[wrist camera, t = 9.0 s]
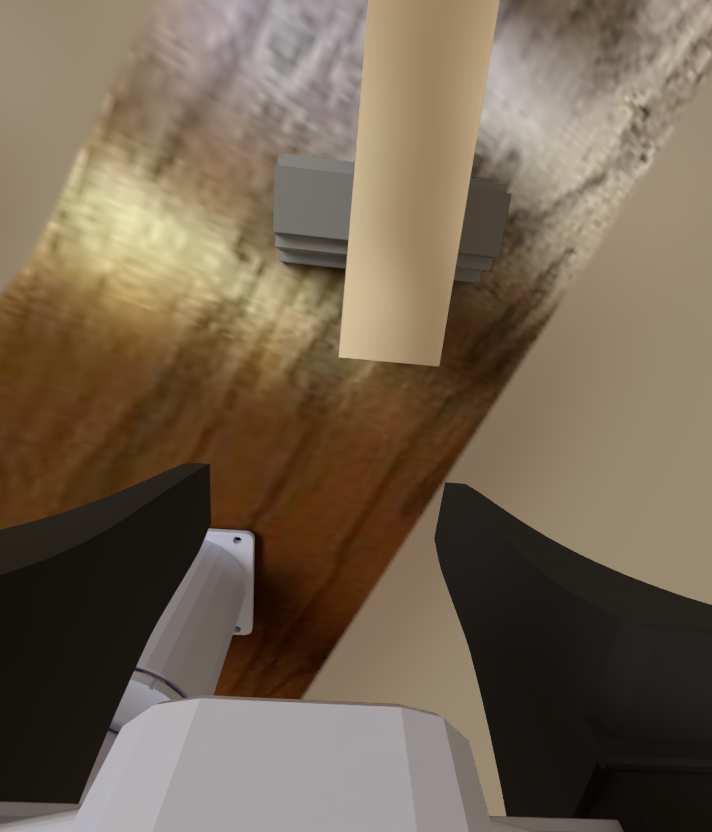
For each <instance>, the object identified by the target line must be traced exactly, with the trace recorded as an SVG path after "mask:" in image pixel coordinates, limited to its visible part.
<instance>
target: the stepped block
mask: <svg viewBox="0 0 712 832" xmlns="http://www.w3.org/2000/svg"><path fill="white" fill-rule="evenodd" d="M354 166H355V162H347V161H339V160H331V159H324V158H316V157H308V156H300V155H292V154H284V153H283V157H278V165H275V181H274V215H273V232H274V233H275V234H276V242H275V246H276V247H277V248H278V249H280V252H279V261H281V262H285V263H294V264H303V265H313V266H322V267H331V268H341V269H346V261H347V249H348V237H349V225H350V213H351V201H352V189H353V178H354ZM506 188H507V185H501V184H498V180H491V179H483V178H475V177H470V183H469V189H468V195H467V201H466V207H465V213H464V220H463V226H462V232H461V238H460V244H459V250H458V256H457V262H456V268H455V274H454V280H453V281H462V282H471V283H478V282H480V278H481V273H482V272H483V271H488V270H491V267H492V261H493V258H497V257H499V255H500V250H501V245H502V239H503V234H504V229H505V224H506V219H507V214H508V209H509V204H510V199H511V194H508V193H506Z"/></svg>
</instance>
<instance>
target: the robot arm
mask: <svg viewBox="0 0 712 832" xmlns="http://www.w3.org/2000/svg"><path fill="white" fill-rule="evenodd" d="M210 524H211V504H210V465H209V464H202V463H186V464H183V465H180V466H177V467H175V468H173V469H170V470H168V471H166V472H163V473H161V474H159V475H157V476H154V477H152V478H150V479H148V480H146V481H143V482H141V483H139V484H137V485H134V486H132V487H130V488H127V489H125V490H122V491H120V492H117V493H115V494H113V495H110V496H108V497H105V498H103V499H100V500H98V501H95V502H92V503H90V504H87V505H84V506H81V507H79V508H76V509H73V510H70V511H66V512H63V513H60V514H57V515H54V516H51V517H47V518H44V519H40V520H37V521H33V522H29V523H25V524H21V525H17V526H14V527H10V528H6V529H2V530H0V832H712V605H709V604H706V603H703V602H700V601H697V600H693V599H690V598H687V597H683V596H681V595H678V594H675V593H672V592H669V591H667V590H664V589H661V588H658V587H655V586H653V585H650V584H647V583H645V582H642V581H639V580H636V579H634V578H632V577H629V576H626V575H624V574H622V573H620V572H617V571H615V570H612V569H610V568H608V567H606V566H604V565H601V564H599V563H596V562H594V561H592V560H590V559H588V558H586V557H584V556H582V555H580V554H578V553H576V552H574V551H572V550H570V549H568V548H566V547H564V546H563V545H561V544H559V543H557V542H555V541H553V540H551V539H549V538H548V537H546V536H544V535H543V534H541V533H540V532H538V531H536V530H535V529H533V528H531V527H530V526H528V525H526V524H525V523H523V522H522V521H520V520H519V519H517V518H516V517H514V516H513V515H511V514H510V513H508V512H507V511H505V510H504V509H502V508H501V507H499V506H498V505H496V504H495V503H493V502H492V501H491V500H489V499H488V498H486V497H485V496H483V495H482V494H481V493H479V492H478V491H476V490H474V489H473V488H471V487H469V486H468V485H466V484H459V483H446V482H445V486H444V492H443V497H442V502H441V507H440V512H439V518H438V523H437V528H436V533H435V538H434V539H435V544H436V549H437V554H438V559H439V563H440V567H441V570H442V573H443V576H444V579H445V582H446V584H447V587H448V590H449V593H450V596H451V598H452V601H453V604H454V607H455V609H456V612H457V615H458V618H459V620H460V623H461V626H462V629H463V631H464V634H465V637H466V640H467V643H468V646H469V650H470V653H471V657H472V661H473V665H474V669H475V672H476V676H477V680H478V684H479V688H480V692H481V697H482V701H483V705H484V710H485V714H486V718H487V723H488V727H489V731H490V736H491V741H492V745H493V750H494V755H495V760H496V764H497V769H498V774H499V779H500V783H501V789H502V794H503V799H504V805H505V810H506V815H507V817H502V816H489V814H488V810H487V806H486V803H485V799H484V795H483V792H482V788H481V784H480V781H479V777H478V773H477V769H476V766H475V762H474V759H473V755H472V751H471V748H470V744H469V741H468V740H467V739H466V738H465V737H464V736H463V735H462V734H461V733H459V732H458V731H457V730H456V729H455V728H454V727H453V726H452V725H451V724H450V723H449V722H448V721H446V720H445V719H444V718H443V717H441V716H440V715H437V714H436V713H432V712H428V711H424V710H420V709H416V708H412V707H408V706H403V705H400V704H383V703H382V704H381V703H362V702H338V701H318V700H296V699H274V698H252V697H230V696H213V694H214V691H215V688H216V685H217V682H218V679H219V676H220V673H221V670H222V667H223V664H224V660H225V657H226V654H227V651H228V648H229V645H230V642H231V639H232V636H233V635H248V634H250V633H251V632H252V628H253V608H254V560H255V536H254V534H253V533H252V532H250V531H242V530H226V529H210V528H209V527H210ZM235 537H239V538H241V540H236V539H235ZM236 626H237V627H236ZM238 627H239V628H238Z"/></svg>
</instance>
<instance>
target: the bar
mask: <svg viewBox="0 0 712 832" xmlns="http://www.w3.org/2000/svg"><path fill="white" fill-rule="evenodd" d="M499 2H500V0H369V2H368V13H367V25H366V36H365V47H364V59H363V70H362V82H361V94H360V106H359V118H358V130H357V142H356V154H355V166H354V178H353V189H352V201H351V213H350V225H349V237H348V249H347V261H346V273H345V285H344V297H343V308H342V320H341V332H340V346H339V357H342V358H353V359H364V360H375V361H386V362H396V363H407V364H418V365H429V366H439V365H440V359H441V353H442V347H443V341H444V335H445V328H446V322H447V316H448V310H449V304H450V298H451V292H452V286H453V280H454V274H455V268H456V262H457V256H458V250H459V244H460V238H461V232H462V226H463V220H464V213H465V207H466V201H467V195H468V189H469V183H470V177H471V171H472V165H473V159H474V153H475V147H476V141H477V135H478V129H479V123H480V117H481V111H482V104H483V98H484V92H485V86H486V80H487V74H488V68H489V62H490V56H491V50H492V44H493V38H494V32H495V26H496V20H497V14H498V8H499Z"/></svg>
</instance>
